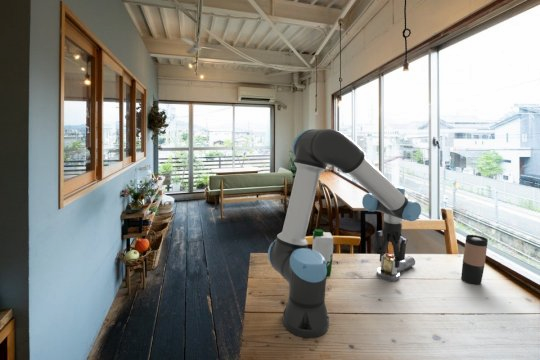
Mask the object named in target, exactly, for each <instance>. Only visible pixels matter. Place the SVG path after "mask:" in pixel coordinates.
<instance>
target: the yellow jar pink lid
mask: <svg viewBox="0 0 540 360" xmlns="http://www.w3.org/2000/svg"><path fill="white" fill-rule="evenodd" d="M384 255H385V256H386V257H384V261H383V272H382V273H383V274H386V275H390V276H391V275H392V265H393V260H395V257H394V254H392V253H386V254H384Z"/></svg>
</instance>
